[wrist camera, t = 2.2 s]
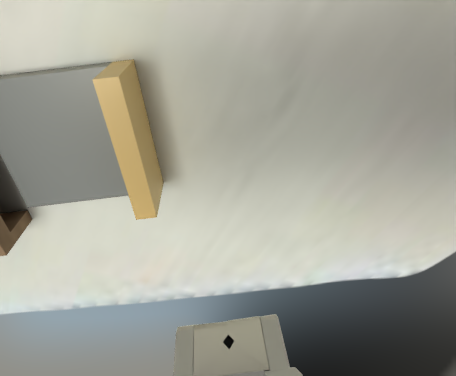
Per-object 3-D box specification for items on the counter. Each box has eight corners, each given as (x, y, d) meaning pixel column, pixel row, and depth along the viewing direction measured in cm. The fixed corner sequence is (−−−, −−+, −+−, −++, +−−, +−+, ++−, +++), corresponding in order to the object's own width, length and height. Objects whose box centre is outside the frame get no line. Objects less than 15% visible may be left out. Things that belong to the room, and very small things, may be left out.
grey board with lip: (133, 58, 23) (118, 76, 19) (163, 181, 28) (156, 217, 24) (-24, 78, 23) (-75, 100, 19) (35, 197, 28) (6, 235, 24)
